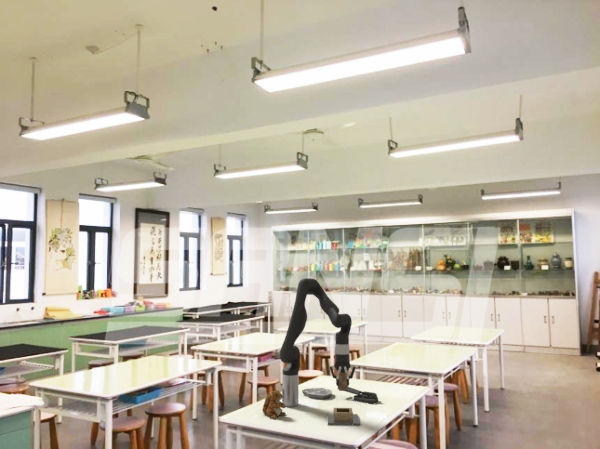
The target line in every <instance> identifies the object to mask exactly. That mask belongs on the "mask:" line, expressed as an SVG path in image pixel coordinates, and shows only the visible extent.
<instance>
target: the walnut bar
mask: <svg viewBox="0 0 600 449" xmlns="http://www.w3.org/2000/svg"><path fill="white" fill-rule="evenodd" d="M338 391H339V392H346V391H347V373H345V372H340V373H339V389H338Z"/></svg>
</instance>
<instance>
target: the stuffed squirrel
mask: <svg viewBox="0 0 600 449" xmlns="http://www.w3.org/2000/svg"><path fill="white" fill-rule="evenodd" d="M269 393H270V394H267V395H266V398H265V399H264V403H263V405H262V410H261V411H262V413H263V414H264V415H265V414H267V415H266V416H267V417H268V418H269V417H271V418H274V419H273V420H276V419H277V418H278V417H280V416H279V415H284V416H286V415H287V414H286V412H284V411H283V409H285V408H286V406H285V404H284V403H282V397H283V395H282V392H280V389H277V390H273V391H269ZM277 416H278V417H277ZM271 418H270V419H271ZM275 418H276V419H275Z"/></svg>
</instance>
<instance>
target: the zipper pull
mask: <svg viewBox="0 0 600 449" xmlns="http://www.w3.org/2000/svg"><path fill="white" fill-rule="evenodd" d="M337 390H339V387H338V386H337ZM345 392H346V393H348V394H349V393H350V394H352V395H353V394H354V396H353V401H354V402H358V403H363V404H367V403H368V404H367V405H374V403H375V404H378V403H377V402H379V397H378V394H377V393H375V392H370V391H362V390H359V389H356V388H354V387H350V386H348V387H347V391H345Z"/></svg>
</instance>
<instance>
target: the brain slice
mask: <svg viewBox="0 0 600 449" xmlns="http://www.w3.org/2000/svg"><path fill="white" fill-rule="evenodd" d="M301 392H302V394H303V395H304V397H308V398H311V399H317V400H324V399H328V398H330V397H331V395H332V394H333V391H332V389H330V388H324V387H316V388H314V387H313V388H304V389H302V390H301Z"/></svg>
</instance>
